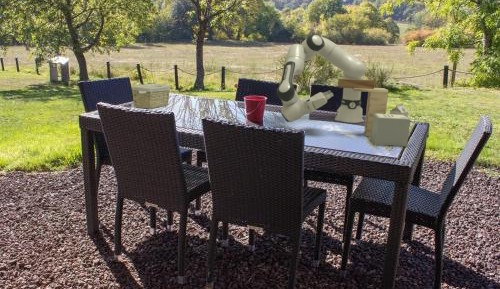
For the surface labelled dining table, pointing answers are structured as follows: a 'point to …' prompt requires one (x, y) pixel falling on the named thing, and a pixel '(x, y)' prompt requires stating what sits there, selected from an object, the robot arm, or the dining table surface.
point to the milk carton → (399, 110)
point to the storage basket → (151, 95)
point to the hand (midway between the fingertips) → (332, 92)
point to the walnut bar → (356, 83)
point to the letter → (391, 116)
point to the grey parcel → (390, 131)
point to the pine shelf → (374, 106)
